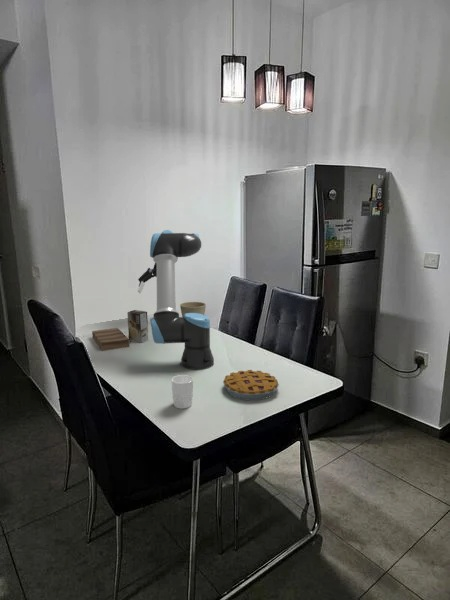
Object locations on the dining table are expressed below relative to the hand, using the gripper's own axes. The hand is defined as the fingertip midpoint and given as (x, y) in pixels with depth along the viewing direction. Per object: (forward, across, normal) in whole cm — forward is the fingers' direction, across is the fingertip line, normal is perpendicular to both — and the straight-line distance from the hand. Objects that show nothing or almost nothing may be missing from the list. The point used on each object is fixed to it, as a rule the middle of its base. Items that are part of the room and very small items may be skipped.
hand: (149, 293), depth 230 cm
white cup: (+67, -58, +34) cm, 95 cm away
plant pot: (+7, -20, -28) cm, 35 cm away
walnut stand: (+32, +12, -2) cm, 34 cm away
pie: (+52, -77, +18) cm, 94 cm away
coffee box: (+26, 0, -8) cm, 27 cm away
